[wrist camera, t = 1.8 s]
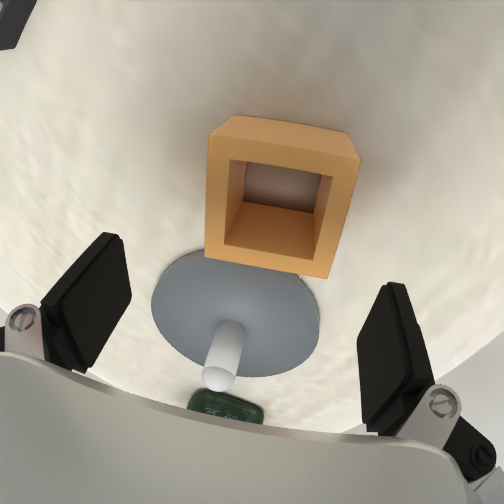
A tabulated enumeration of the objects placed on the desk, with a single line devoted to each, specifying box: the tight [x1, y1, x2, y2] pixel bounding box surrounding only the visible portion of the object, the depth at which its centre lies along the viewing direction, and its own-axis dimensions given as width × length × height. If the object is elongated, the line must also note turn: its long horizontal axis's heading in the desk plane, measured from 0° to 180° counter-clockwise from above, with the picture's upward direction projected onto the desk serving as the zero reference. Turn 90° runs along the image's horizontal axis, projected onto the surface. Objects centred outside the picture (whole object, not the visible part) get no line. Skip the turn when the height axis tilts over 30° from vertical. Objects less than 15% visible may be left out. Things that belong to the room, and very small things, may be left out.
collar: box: [204, 115, 361, 279], centre depth 16 cm, size 6×6×5 cm
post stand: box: [151, 249, 319, 392], centre depth 23 cm, size 14×14×7 cm
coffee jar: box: [187, 392, 264, 425], centre depth 29 cm, size 10×8×19 cm
